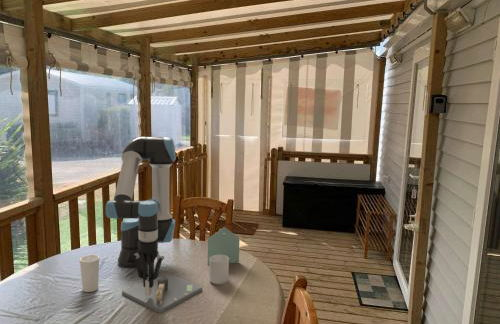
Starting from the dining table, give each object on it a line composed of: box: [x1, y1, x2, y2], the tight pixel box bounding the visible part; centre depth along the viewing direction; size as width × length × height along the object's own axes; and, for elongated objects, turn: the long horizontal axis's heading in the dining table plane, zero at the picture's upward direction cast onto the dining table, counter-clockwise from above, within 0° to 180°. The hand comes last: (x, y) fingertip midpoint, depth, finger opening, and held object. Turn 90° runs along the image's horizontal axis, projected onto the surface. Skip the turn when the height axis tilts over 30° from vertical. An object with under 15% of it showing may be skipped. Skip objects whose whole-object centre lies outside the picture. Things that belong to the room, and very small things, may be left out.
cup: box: [79, 254, 101, 293], centre depth 161 cm, size 8×8×14 cm
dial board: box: [121, 271, 203, 314], centre depth 161 cm, size 24×24×2 cm
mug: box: [208, 255, 230, 286], centre depth 175 cm, size 12×9×11 cm
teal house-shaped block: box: [207, 226, 240, 265], centre depth 196 cm, size 16×8×20 cm, turn 100°
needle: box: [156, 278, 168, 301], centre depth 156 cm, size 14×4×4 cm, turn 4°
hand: (148, 294), depth 154 cm, fingers closed
